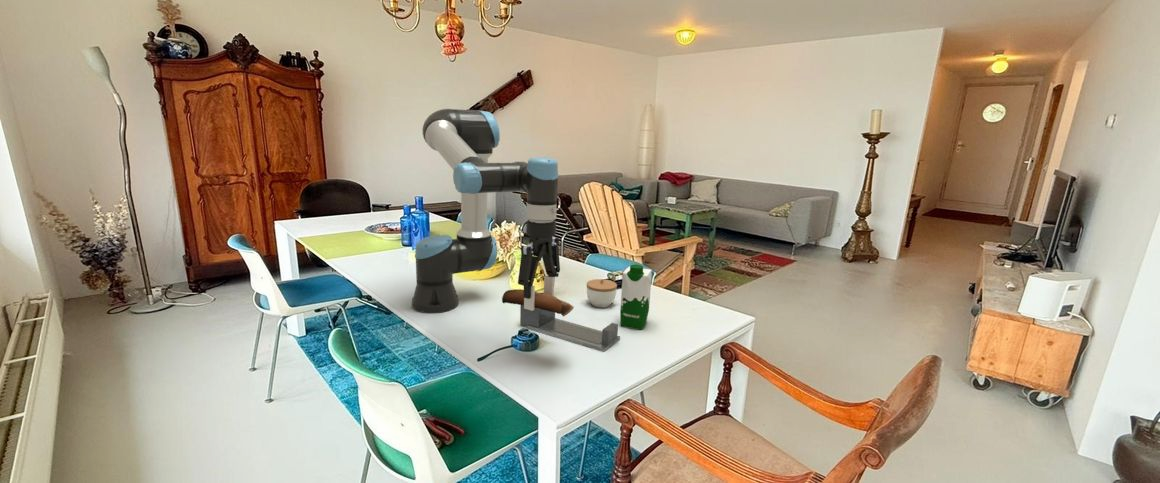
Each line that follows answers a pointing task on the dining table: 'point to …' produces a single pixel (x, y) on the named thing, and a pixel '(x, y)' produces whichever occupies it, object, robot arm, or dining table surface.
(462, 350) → the dining table surface
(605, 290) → the lidded jar
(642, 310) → the milk carton
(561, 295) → the dining table surface
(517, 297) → the sunglasses case
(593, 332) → the motor mount
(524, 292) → the robot arm
